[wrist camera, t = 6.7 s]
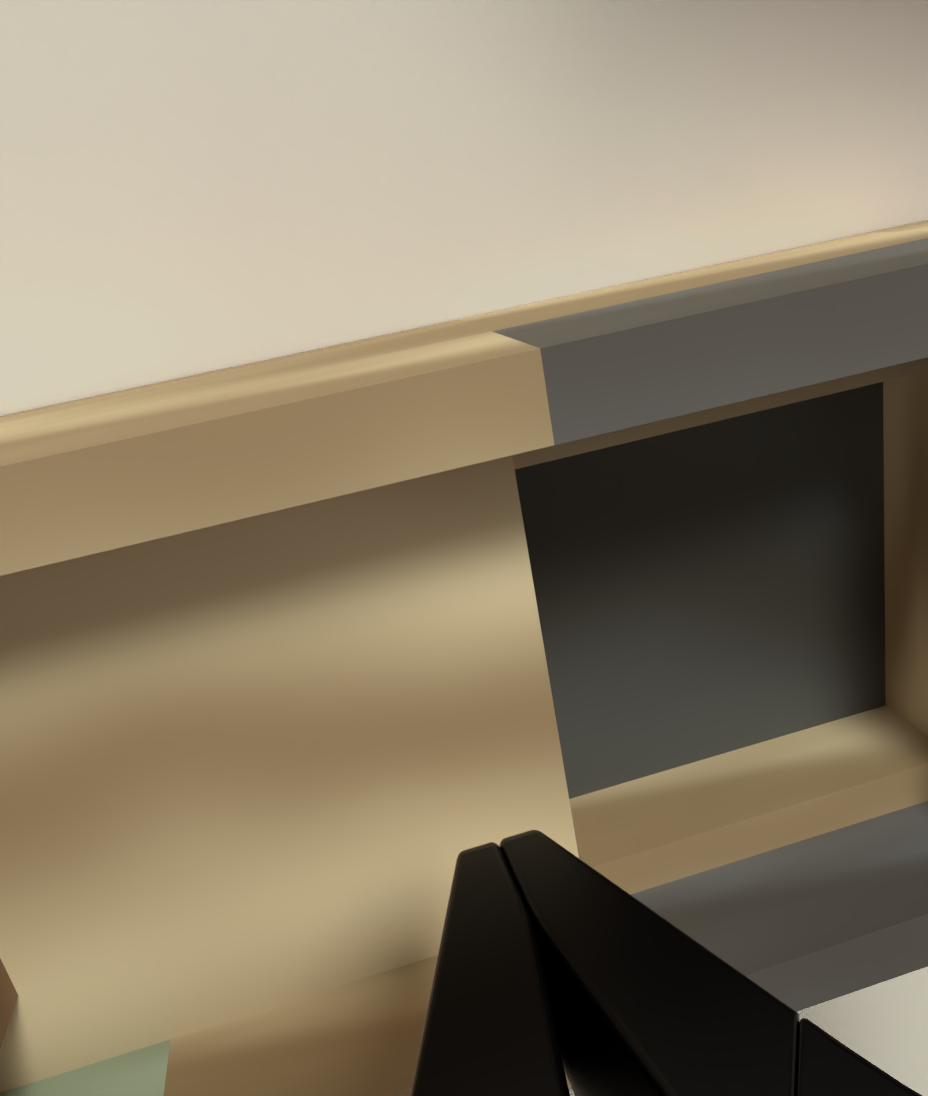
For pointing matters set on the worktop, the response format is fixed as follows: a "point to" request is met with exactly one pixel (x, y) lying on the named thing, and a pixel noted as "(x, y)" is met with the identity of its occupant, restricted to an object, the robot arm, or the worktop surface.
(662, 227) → the worktop surface
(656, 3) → the worktop surface
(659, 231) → the worktop surface
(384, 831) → the box
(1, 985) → the walnut block
